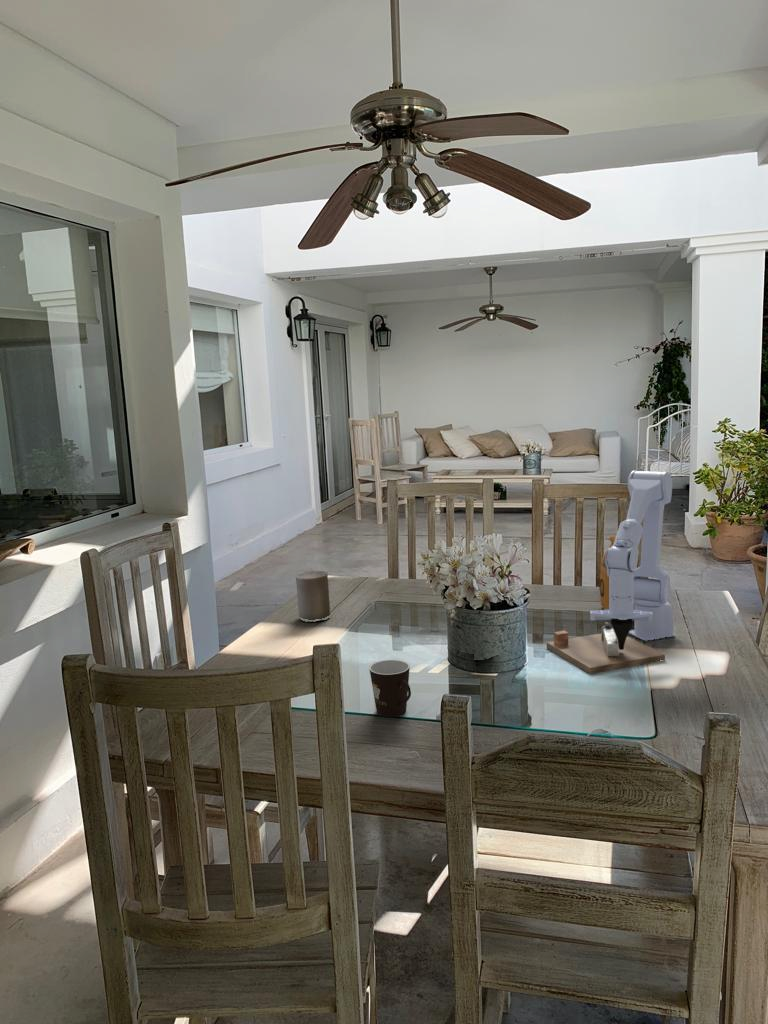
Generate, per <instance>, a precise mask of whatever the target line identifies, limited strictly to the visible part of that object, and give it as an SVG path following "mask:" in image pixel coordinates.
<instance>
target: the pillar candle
mask: <svg viewBox="0 0 768 1024" xmlns="http://www.w3.org/2000/svg"><path fill="white" fill-rule="evenodd" d="M328 575H329V574H328V572H326V571H323V570H308V571H302V572H299V573H297V574H296V575H295V582H296V583H295V584H296V594H297V595H296V597H297V607H298V609H297V611H298V618H299V617H301V618H303V619H308V620H315V619H322V618H325V617H327V616H329V615H331V605H330V604H331V603H330V602H331V601H330V591H329V589H330V588H329V578H328V577H329V576H328Z"/></svg>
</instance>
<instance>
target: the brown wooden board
mask: <svg viewBox="0 0 768 1024" xmlns="http://www.w3.org/2000/svg"><path fill="white" fill-rule="evenodd" d="M614 633H615V631H614ZM615 636H616V633H615ZM616 639H617V636H616ZM617 642H618V639H617ZM546 649H548V650H549V651H551V652H553V654H556V655H557V656H560V657H561V658H563V659H565V660H566V661H568V662H570V663H571V664H573V665H574V664H575V665H574V666H577V667H578V668H579V669H582V670H583V671H584V670H585V671H584V672H586V673H588V674H589V675H592V674H597V673H603V672H609V671H613V670H614V671H615V670H620V669H625V668H629V667H630V668H631V667H636V666H641V665H647V664H646V663H648V664H652V663H651V662H653V663H657V662H656V661H659V662H661V661H660V660H664V661H666V654H665V653H663V652H661V651H659V650H658V649H657V650H656V649H655V648H653V647H650V646H648V645H646V644H644V643H642V642H640V641H638V640H636V639H633V638H632V637H629V636H628V635H627V638H626V640H625V644H624V650H620V649H619V645H618V656H608V655H607V651H606V648H605V644H604V640H602V639H601V632H600V633H595V634H589V635H583V636H577V637H570V638H569V632H567V631H566V630H560V631H554V632H553V640H552V641H547V642H546Z"/></svg>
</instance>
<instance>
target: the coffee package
mask: <svg viewBox="0 0 768 1024" xmlns="http://www.w3.org/2000/svg"><path fill="white" fill-rule="evenodd" d="M615 538H616V535H614V534H613V535H611V536H609V538H608V539H609V542H611V543H610V545H609V546H608V548H611V547H612V546H613V544H614V541H615ZM608 548H607V549H606V550H605V553H604V554H603V556H602V558H601V560H600V572H599V573H600V574H599V586H598V587H599V591H598V592H599V598H600V606H601V607H602V610H609V576H607V568H606V565H605V556H606V552H607V550H608ZM634 610H635V603H634Z"/></svg>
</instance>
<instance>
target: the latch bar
mask: <svg viewBox="0 0 768 1024" xmlns="http://www.w3.org/2000/svg"><path fill="white" fill-rule="evenodd" d="M600 633H601V639H602V640H604V644H605V648H606V651H607V655H608V656H618V642H617V639H616V636H615V633H614V629H613V627H612V624H611V621H610V622H609V621H605V622H604V625H602V626H601V632H600Z"/></svg>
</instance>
